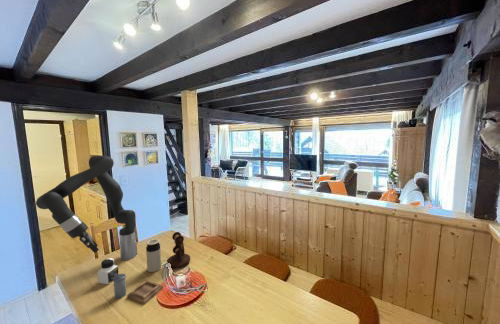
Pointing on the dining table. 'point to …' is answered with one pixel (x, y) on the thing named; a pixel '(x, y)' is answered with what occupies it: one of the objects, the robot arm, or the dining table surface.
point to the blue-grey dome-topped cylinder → (119, 285)
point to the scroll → (178, 252)
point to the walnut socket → (144, 292)
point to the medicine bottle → (107, 271)
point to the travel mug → (153, 255)
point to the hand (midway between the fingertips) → (96, 249)
